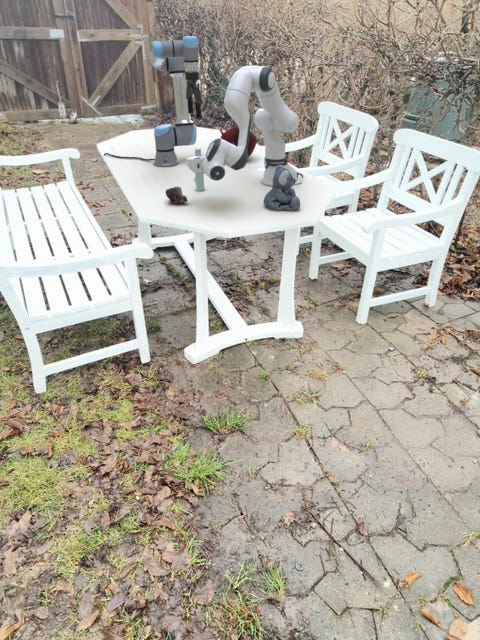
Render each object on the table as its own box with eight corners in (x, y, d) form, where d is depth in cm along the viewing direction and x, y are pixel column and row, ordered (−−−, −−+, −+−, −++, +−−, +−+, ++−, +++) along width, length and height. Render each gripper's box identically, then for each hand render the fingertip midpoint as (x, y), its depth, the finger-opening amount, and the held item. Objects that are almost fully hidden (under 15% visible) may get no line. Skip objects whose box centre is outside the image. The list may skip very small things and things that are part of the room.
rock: (181, 200, 240) (163, 203, 236) (179, 183, 237) (161, 186, 232) (189, 203, 231) (171, 206, 227) (188, 186, 227) (169, 189, 223)
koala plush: (301, 211, 222) (304, 171, 211) (265, 212, 221) (266, 172, 210) (295, 199, 236) (297, 161, 225) (261, 200, 235) (262, 162, 224)
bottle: (199, 191, 248) (197, 150, 236) (194, 189, 251) (191, 148, 238) (205, 190, 251) (203, 148, 238) (200, 188, 253) (198, 147, 241)
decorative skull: (217, 132, 306) (217, 129, 282) (251, 124, 305) (253, 121, 281) (224, 164, 313) (224, 164, 289) (257, 157, 312) (260, 156, 288)
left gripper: (178, 69, 242) (181, 112, 254) (192, 74, 223) (195, 120, 235) (191, 68, 244) (194, 111, 256) (206, 73, 225) (208, 119, 237)
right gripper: (230, 155, 218) (223, 149, 229) (188, 159, 213) (183, 152, 224) (230, 169, 222) (223, 161, 233) (189, 172, 217) (184, 165, 228)
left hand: (194, 115), depth 245 cm, fingers open, 13 cm apart
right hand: (203, 157), depth 228 cm, fingers open, 8 cm apart
